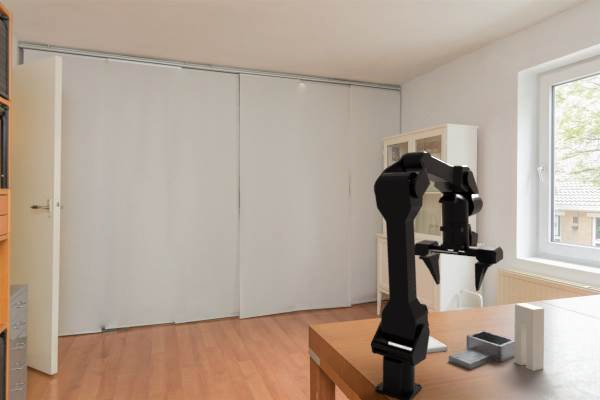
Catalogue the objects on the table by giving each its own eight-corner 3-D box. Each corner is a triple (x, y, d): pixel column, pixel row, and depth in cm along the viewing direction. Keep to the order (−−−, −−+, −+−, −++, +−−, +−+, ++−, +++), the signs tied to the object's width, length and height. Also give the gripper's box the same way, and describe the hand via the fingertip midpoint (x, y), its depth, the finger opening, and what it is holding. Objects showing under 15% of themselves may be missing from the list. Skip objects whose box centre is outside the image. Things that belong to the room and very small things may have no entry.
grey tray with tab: (476, 372, 80) (477, 355, 80) (442, 358, 86) (442, 343, 86) (518, 355, 89) (518, 339, 89) (484, 343, 95) (484, 329, 95)
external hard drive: (447, 353, 91) (399, 358, 88) (426, 340, 99) (381, 345, 96) (447, 346, 91) (399, 351, 88) (426, 334, 99) (381, 338, 96)
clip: (532, 370, 80) (533, 309, 80) (514, 362, 85) (514, 304, 84) (543, 368, 81) (544, 308, 81) (524, 360, 86) (525, 302, 86)
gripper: (509, 217, 90) (511, 284, 92) (431, 214, 103) (433, 273, 104) (494, 225, 82) (495, 298, 84) (411, 221, 95) (413, 284, 96)
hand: (457, 287), depth 92 cm, fingers open, 9 cm apart
